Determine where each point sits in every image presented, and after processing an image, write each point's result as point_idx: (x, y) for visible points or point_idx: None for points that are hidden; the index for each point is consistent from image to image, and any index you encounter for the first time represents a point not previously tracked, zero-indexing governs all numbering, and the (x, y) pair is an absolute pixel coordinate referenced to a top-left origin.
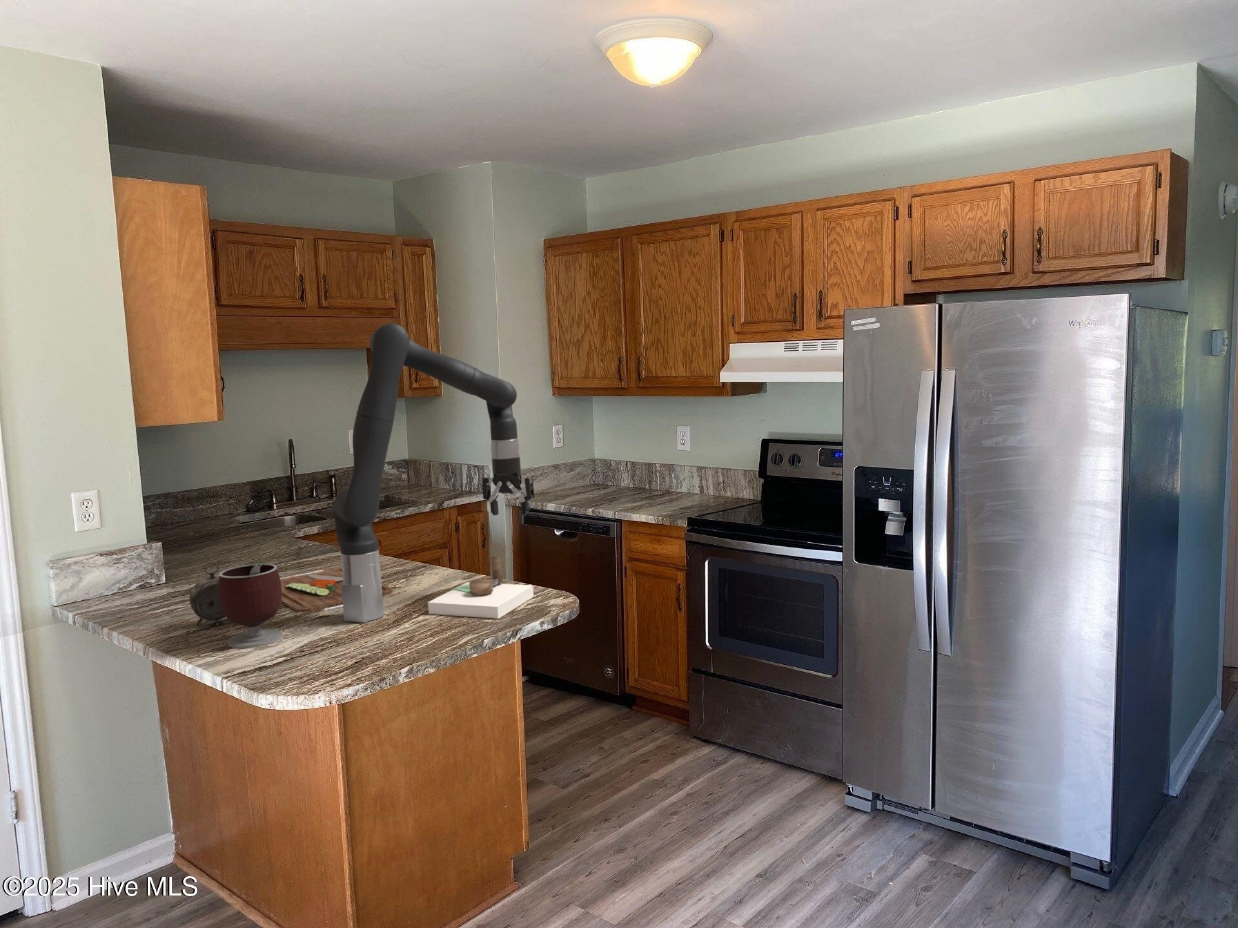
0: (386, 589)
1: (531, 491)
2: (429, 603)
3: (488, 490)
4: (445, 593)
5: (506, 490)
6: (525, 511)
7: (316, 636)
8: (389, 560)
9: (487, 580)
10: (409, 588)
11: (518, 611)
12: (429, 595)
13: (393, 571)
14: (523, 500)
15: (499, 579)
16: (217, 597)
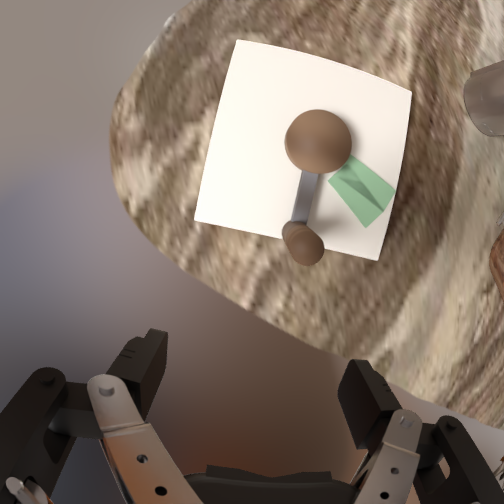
0: (497, 264)
1: (45, 447)
2: (407, 90)
3: (434, 488)
4: (401, 158)
5: (272, 496)
6: (133, 344)
7: (488, 36)
8: (479, 416)
9: (307, 162)
10: (470, 285)
11: (205, 97)
12: (436, 235)
13: (483, 375)
14: (101, 379)
15: (288, 224)
16: None
